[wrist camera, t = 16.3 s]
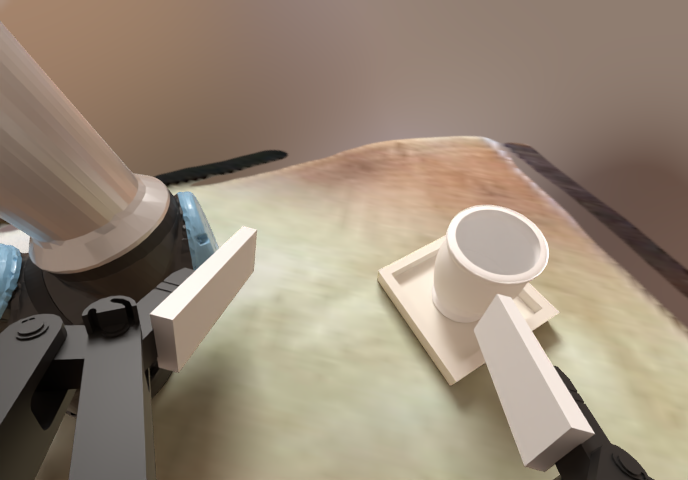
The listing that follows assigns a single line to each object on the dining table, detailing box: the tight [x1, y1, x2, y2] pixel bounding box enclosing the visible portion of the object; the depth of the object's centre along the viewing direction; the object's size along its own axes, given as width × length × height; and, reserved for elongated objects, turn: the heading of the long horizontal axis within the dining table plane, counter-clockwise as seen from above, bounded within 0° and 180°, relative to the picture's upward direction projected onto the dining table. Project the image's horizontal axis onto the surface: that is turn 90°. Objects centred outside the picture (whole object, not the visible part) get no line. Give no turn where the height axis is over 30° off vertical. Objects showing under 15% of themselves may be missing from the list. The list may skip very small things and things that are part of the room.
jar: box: [432, 205, 549, 323], centre depth 36 cm, size 11×10×15 cm
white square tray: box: [377, 235, 560, 386], centre depth 42 cm, size 18×18×3 cm
